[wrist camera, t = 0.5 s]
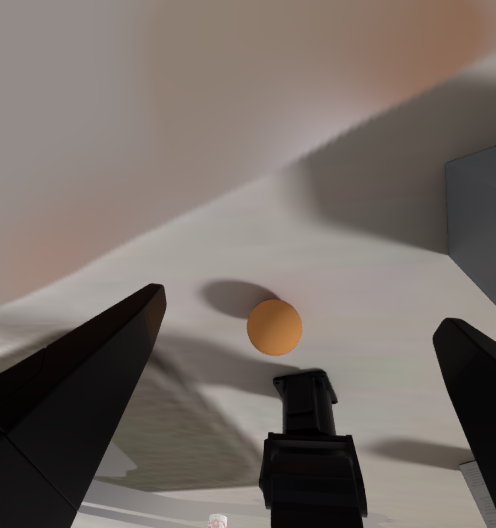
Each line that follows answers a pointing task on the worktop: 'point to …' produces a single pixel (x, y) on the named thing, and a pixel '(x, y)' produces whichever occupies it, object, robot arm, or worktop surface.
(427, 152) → the worktop surface
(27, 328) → the worktop surface
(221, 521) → the beverage cup
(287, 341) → the ball
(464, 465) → the skincare box
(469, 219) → the grey block
